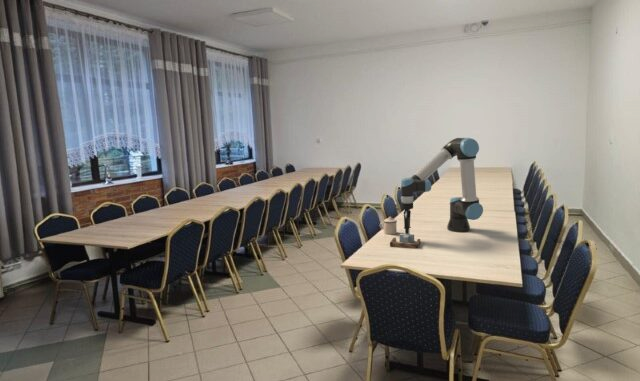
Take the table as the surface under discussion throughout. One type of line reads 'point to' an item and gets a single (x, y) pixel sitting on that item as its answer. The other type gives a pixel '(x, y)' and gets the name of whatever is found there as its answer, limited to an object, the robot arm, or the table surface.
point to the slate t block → (406, 238)
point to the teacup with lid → (389, 226)
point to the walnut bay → (404, 244)
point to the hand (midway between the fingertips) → (407, 238)
